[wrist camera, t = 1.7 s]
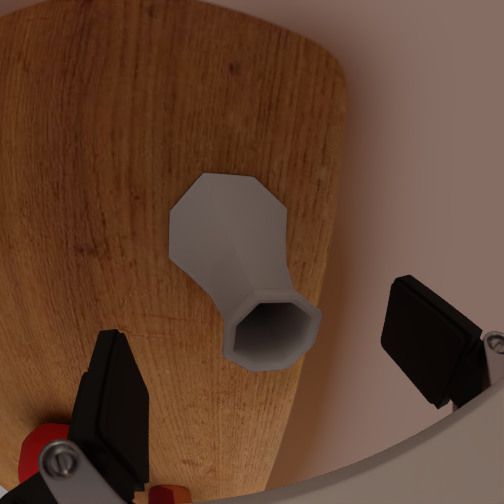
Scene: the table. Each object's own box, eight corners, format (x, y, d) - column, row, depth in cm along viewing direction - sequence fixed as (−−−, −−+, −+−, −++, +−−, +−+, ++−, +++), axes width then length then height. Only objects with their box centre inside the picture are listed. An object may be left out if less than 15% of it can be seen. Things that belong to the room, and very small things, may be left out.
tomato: (15, 392, 19) (-14, 483, 9) (121, 415, 22) (117, 522, 12) (45, 450, 23) (35, 523, 13) (131, 467, 27) (134, 545, 17)
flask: (150, 263, 18) (131, 388, 9) (195, 151, 16) (209, 179, 7) (254, 297, 20) (306, 414, 11) (304, 200, 18) (408, 271, 9)
